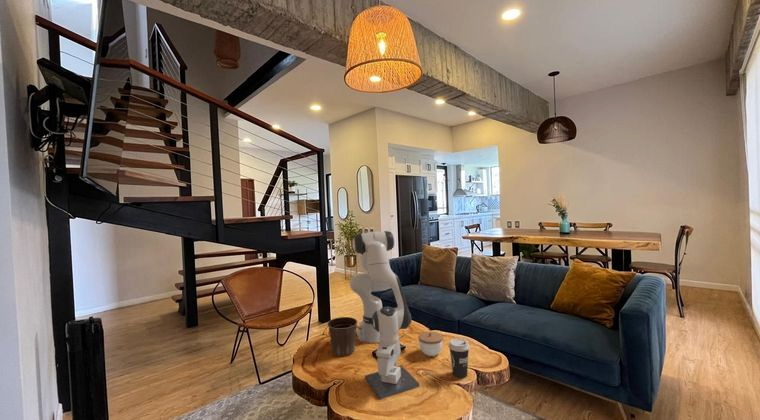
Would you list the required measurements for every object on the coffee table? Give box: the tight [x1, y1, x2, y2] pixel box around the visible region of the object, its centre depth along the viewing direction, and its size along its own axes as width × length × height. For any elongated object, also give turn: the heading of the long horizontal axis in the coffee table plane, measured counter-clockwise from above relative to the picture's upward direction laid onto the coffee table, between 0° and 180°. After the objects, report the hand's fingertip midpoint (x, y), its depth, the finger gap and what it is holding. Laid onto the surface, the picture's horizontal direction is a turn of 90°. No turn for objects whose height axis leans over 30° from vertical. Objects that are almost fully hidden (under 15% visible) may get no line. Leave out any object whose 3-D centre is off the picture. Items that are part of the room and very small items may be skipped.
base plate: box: [364, 365, 420, 400], centre depth 144 cm, size 17×19×7 cm
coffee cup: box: [448, 337, 471, 379], centre depth 148 cm, size 10×10×15 cm
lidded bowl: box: [417, 330, 444, 357], centre depth 169 cm, size 13×13×11 cm
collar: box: [381, 365, 401, 384], centre depth 144 cm, size 7×7×4 cm
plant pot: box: [327, 316, 358, 357], centre depth 176 cm, size 16×16×16 cm
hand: (390, 374), depth 144 cm, fingers closed on collar, 7 cm apart
